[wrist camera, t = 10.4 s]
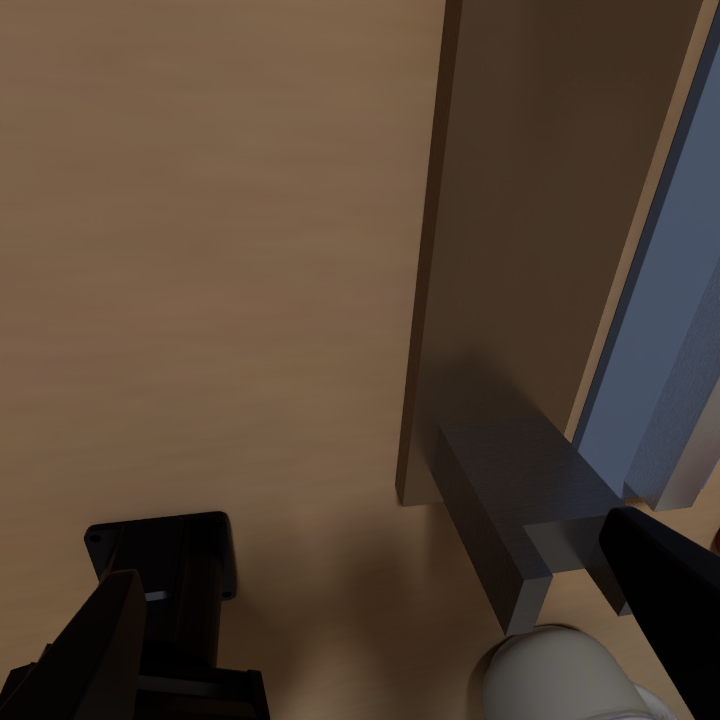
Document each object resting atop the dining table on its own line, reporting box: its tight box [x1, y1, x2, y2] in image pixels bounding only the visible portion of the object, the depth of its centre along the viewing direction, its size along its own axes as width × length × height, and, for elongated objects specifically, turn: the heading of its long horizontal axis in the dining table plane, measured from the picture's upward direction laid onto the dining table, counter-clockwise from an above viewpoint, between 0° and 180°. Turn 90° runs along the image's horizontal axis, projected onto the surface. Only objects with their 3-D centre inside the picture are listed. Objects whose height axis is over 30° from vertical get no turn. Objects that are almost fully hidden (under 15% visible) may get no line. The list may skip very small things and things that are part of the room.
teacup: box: [481, 625, 678, 720], centre depth 33 cm, size 14×11×8 cm
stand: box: [395, 0, 703, 636], centre depth 14 cm, size 29×8×10 cm, turn 178°
